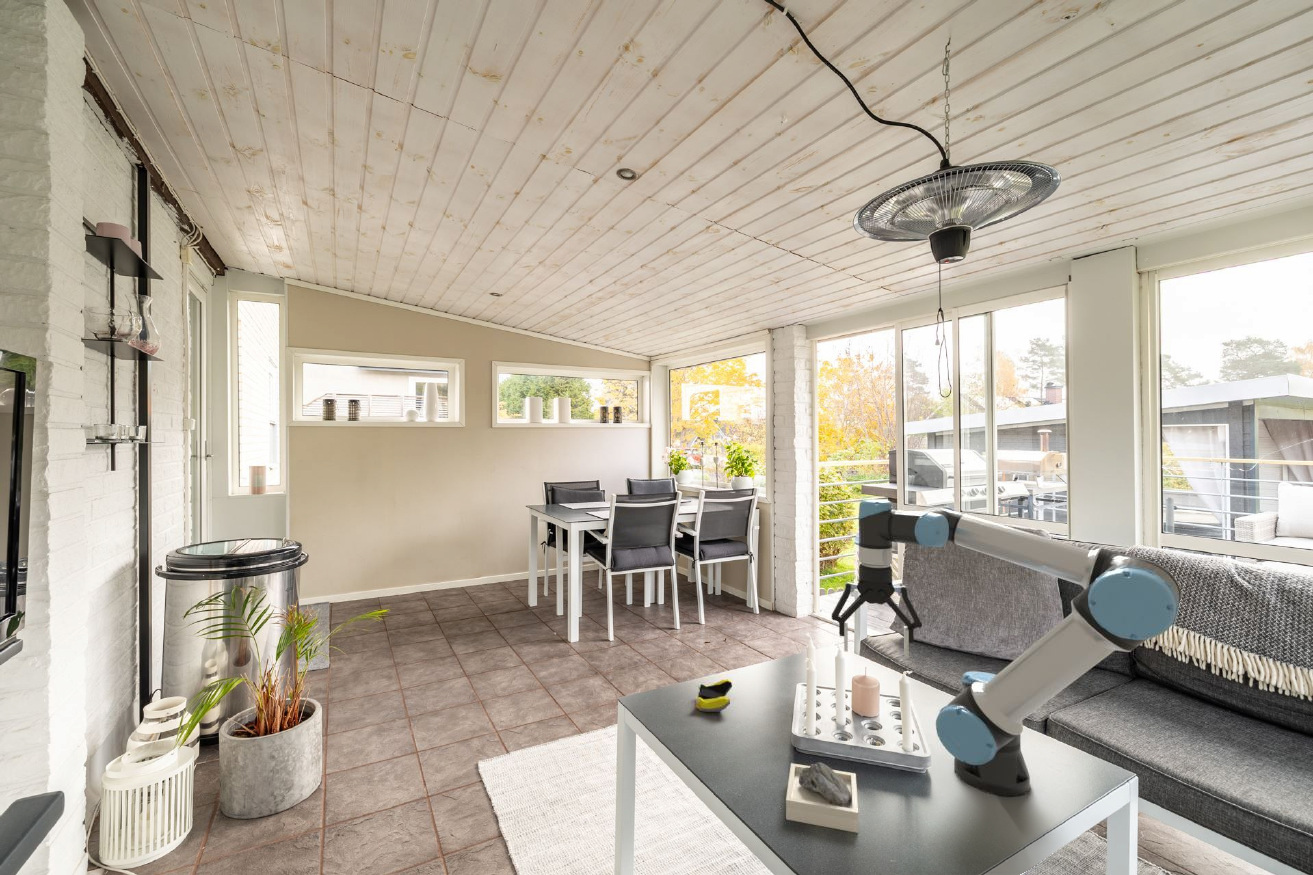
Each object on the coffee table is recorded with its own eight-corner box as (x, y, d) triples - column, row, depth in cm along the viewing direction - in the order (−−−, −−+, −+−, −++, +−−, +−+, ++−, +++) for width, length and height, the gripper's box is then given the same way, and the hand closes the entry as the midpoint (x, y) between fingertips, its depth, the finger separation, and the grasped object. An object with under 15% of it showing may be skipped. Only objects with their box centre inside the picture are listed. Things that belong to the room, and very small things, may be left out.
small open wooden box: (855, 791, 128) (855, 773, 128) (858, 832, 115) (858, 812, 115) (791, 780, 132) (791, 763, 132) (786, 819, 119) (786, 799, 119)
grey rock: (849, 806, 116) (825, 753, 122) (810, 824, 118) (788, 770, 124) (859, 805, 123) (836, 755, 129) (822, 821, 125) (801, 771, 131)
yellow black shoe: (732, 695, 176) (699, 693, 178) (732, 677, 176) (699, 675, 178) (729, 719, 162) (694, 716, 163) (729, 699, 162) (693, 696, 163)
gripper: (929, 564, 139) (930, 652, 139) (821, 558, 146) (822, 641, 146) (934, 571, 132) (935, 664, 132) (821, 564, 139) (821, 652, 139)
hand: (875, 652), depth 139 cm, fingers open, 13 cm apart
